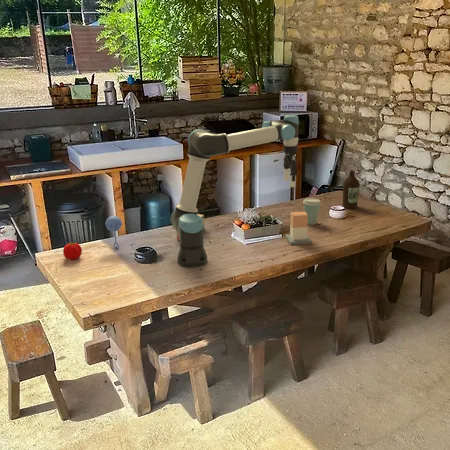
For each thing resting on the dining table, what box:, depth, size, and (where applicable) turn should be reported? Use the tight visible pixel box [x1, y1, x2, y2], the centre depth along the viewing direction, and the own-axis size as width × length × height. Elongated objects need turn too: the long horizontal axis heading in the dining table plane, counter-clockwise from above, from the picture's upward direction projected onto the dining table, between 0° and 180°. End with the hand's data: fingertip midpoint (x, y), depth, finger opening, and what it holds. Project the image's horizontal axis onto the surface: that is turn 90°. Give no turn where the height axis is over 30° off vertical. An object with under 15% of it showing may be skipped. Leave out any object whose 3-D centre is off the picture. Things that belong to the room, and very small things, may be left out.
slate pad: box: [284, 233, 313, 246], centre depth 274 cm, size 12×12×2 cm
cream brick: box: [289, 225, 308, 240], centre depth 273 cm, size 8×6×7 cm
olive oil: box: [342, 169, 361, 210], centre depth 324 cm, size 11×11×25 cm
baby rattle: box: [104, 215, 123, 249], centre depth 266 cm, size 9×9×18 cm
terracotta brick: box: [289, 211, 308, 228], centre depth 270 cm, size 8×6×7 cm
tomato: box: [62, 242, 83, 261], centre depth 255 cm, size 9×10×8 cm
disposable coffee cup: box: [302, 197, 322, 225], centre depth 298 cm, size 11×11×15 cm
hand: (289, 183), depth 270 cm, fingers open, 13 cm apart
